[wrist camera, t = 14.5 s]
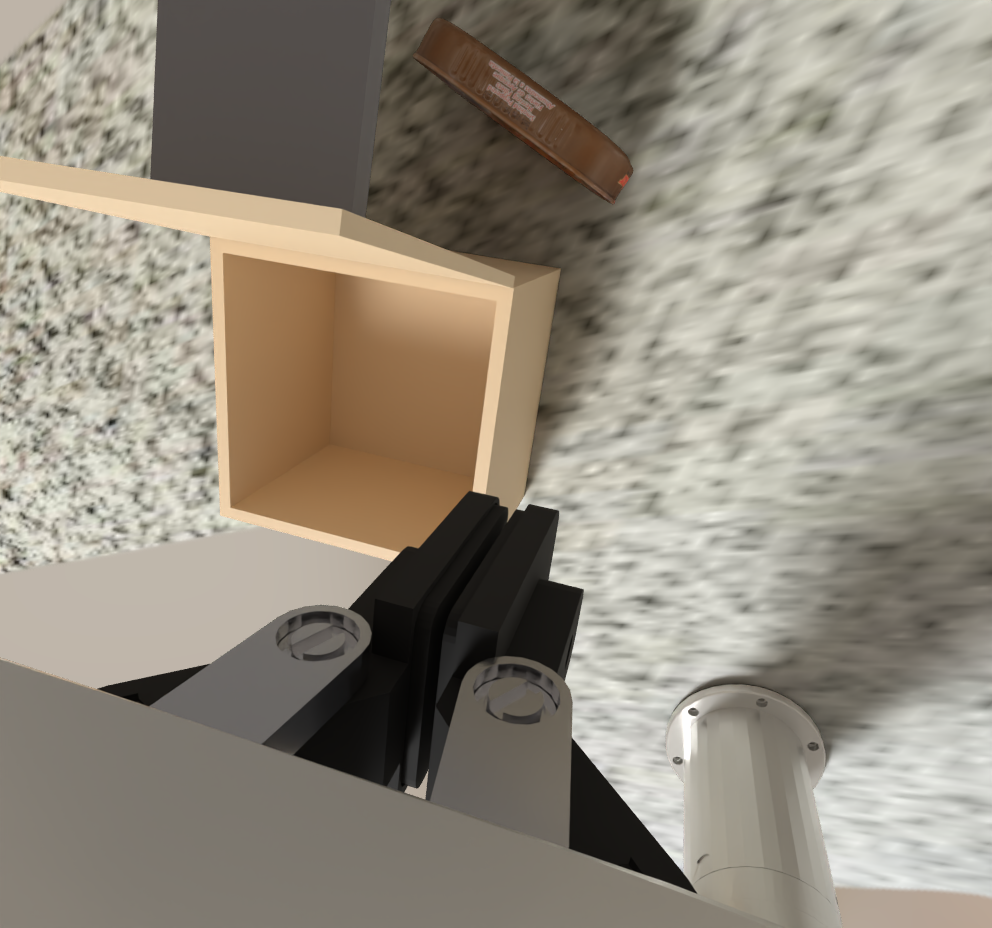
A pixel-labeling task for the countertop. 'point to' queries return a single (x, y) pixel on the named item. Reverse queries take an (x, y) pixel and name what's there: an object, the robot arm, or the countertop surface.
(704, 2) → the countertop surface
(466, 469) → the carton
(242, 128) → the lid
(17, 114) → the countertop surface
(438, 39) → the tin
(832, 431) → the countertop surface
